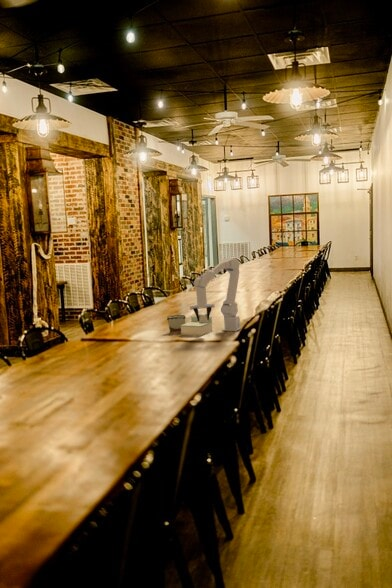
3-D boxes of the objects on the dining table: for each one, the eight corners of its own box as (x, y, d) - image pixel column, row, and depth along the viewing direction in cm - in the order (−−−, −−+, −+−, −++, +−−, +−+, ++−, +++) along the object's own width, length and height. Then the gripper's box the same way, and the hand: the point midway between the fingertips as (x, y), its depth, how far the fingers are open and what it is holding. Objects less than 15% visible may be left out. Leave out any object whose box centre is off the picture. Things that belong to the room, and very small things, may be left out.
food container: (188, 329, 352) (187, 314, 351) (187, 331, 346) (186, 316, 345) (169, 330, 354) (167, 315, 352) (167, 332, 348) (166, 317, 346)
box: (212, 330, 343) (211, 322, 343) (201, 335, 331) (200, 327, 331) (192, 330, 350) (192, 322, 350) (181, 334, 338) (180, 326, 338)
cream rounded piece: (209, 322, 329) (209, 314, 328) (203, 324, 326) (202, 315, 325) (203, 321, 333) (203, 313, 332) (197, 323, 329) (196, 315, 329)
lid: (211, 322, 343) (211, 316, 342) (200, 327, 331) (200, 321, 330) (192, 322, 350) (191, 316, 349) (180, 326, 338) (180, 320, 337)
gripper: (212, 295, 332) (214, 318, 334) (188, 298, 330) (190, 320, 332) (214, 297, 325) (216, 320, 327) (189, 299, 324) (191, 322, 325)
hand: (203, 320), depth 329 cm, fingers closed on cream rounded piece, 5 cm apart
